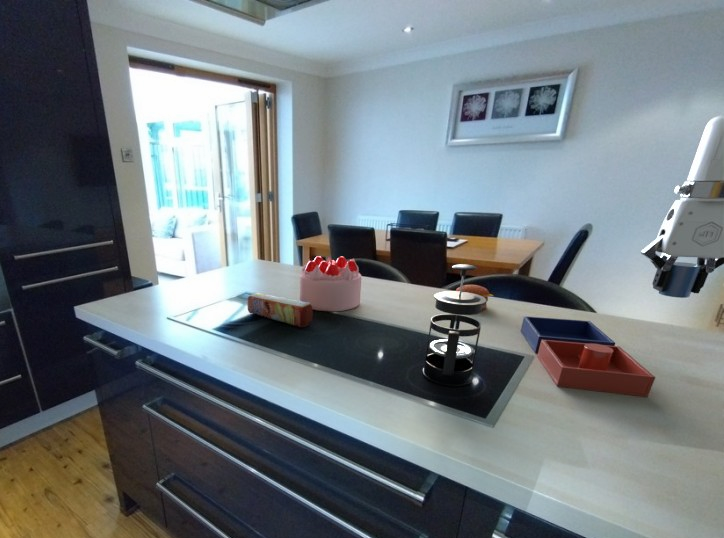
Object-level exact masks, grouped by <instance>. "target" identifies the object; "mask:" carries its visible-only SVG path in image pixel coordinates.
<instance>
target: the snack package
mask: <svg viewBox="0 0 724 538" xmlns="http://www.w3.org/2000/svg"><path fill="white" fill-rule="evenodd" d="M246 306H247V311H248V313H249V314H251V313H253V314H252V315H255V314H257V315H256V316H259V315H260V316H259V317H263V316H264V317H263V318H266V317H267V318H266V319H269V320H274V321H277V322H281V323H284V324H288V325H291V326H295V327H298V328H305V327H307V326H309V325H310V324H311V323H312V322H313V317H314V311H313V310H314V309H313V308H312V305H311V303H308V302H302V301H300V300H296V299H290V298H285V297H281V296H276V295H271V294H265V293H264V294H263V293H260V292H254V293H252V294H250V295H249V296H248V297H247V303H246Z"/></svg>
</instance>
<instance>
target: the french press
mask: <svg viewBox="0 0 724 538" xmlns="http://www.w3.org/2000/svg"><path fill="white" fill-rule="evenodd" d="M451 268H452V269H454V270H460V277H461V280H460V286H459V287H460V291H456V290H447V291H439V292H436V293H435V294H434V295H433V298H434V300H435V308H436V310H438V311H440V312H443V313H442V314H436V315H433V316H431V318H430V323H429V331H428V338H427V346H426V353H425V360H424V367H423V368H422V375H423V377H424V378H425V379H426V380H427V381H429V382H430V383H432V384H435V385H438V386H442V387H447V388H462V387H466V386H469V385H470V384H471V383H472V381H473V370H474V365H475V359H476V355H477V349H478V344H479V339H480V333H481V329H482V323H481V321H480V320H478V319H476V318H473V317H471V316H473V315H478V314H480V313H481V312H482V311H483V310H482V305H483V304H485V303H486V299H485V298H484V297H482V296H480V295H477V294H473V293H468V292H462V286H464V280H465V277H466V276H467V273H468V271H476V270H477V269H478V267H477V266H475V265H472V264H469V263H457V264H454V265H452V266H451ZM486 304H487V303H486ZM442 321H449V327H446V326H442V325H439V324H437V323H436V322H442ZM461 323H465V324H469V325H471V326H473V327H475V328H470V329H460V325H461ZM432 330H433V331H435V332H436V333H439V334H443V335H446V336H447V339H436V340H432V341H431V334H432V333H431V332H432ZM474 336H476V340H475V346H474V347H472V345H470V344H468V343H465V342H462V341H460V337H464V338H465V337H466V338H467V337H474ZM429 351H430V352H431V353H430V354H429ZM471 357H472V360H471V359H469V358H471ZM454 370H455V371H454Z"/></svg>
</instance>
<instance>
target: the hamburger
mask: <svg viewBox="0 0 724 538" xmlns="http://www.w3.org/2000/svg"><path fill="white" fill-rule="evenodd" d="M455 291H460V286H459V287H457V288H456V290H455ZM462 292H468V293H473V294H477V295H480V296H482V297H484V298H485V299H486V303H485V304H483V305H482V310H481V311H484V310H485V309H487V306H488V305H487V302H488V301H489V297H495V295H493V294H491V293H490V292H489V290H488V288H486V287H484V286H481V285H478V284H463V286H462Z"/></svg>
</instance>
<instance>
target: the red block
mask: <svg viewBox="0 0 724 538" xmlns="http://www.w3.org/2000/svg"><path fill="white" fill-rule="evenodd" d="M612 353H613V349H611V348H610V347H607V346H604V345H600V344H592V343H590V344H585V346H584V349H583V352H582V355H579V356H578V357H577V359H578V360H579V361H580V362H579V365H578V368H583V369H593V370H602V371H607V368H608V365H609V362H610V359H611V356H612Z"/></svg>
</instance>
